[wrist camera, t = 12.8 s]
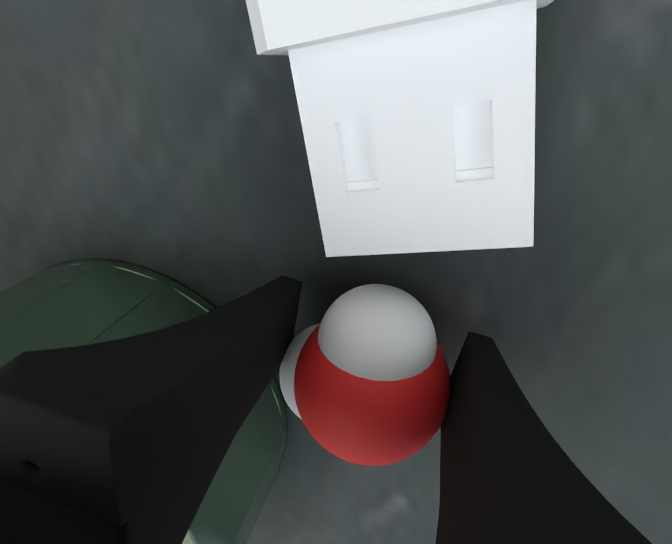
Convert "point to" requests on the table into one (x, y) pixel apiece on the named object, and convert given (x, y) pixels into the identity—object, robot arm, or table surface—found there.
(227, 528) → the pot
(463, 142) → the charging cable
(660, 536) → the table surface
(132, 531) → the robot arm
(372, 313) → the molecule
